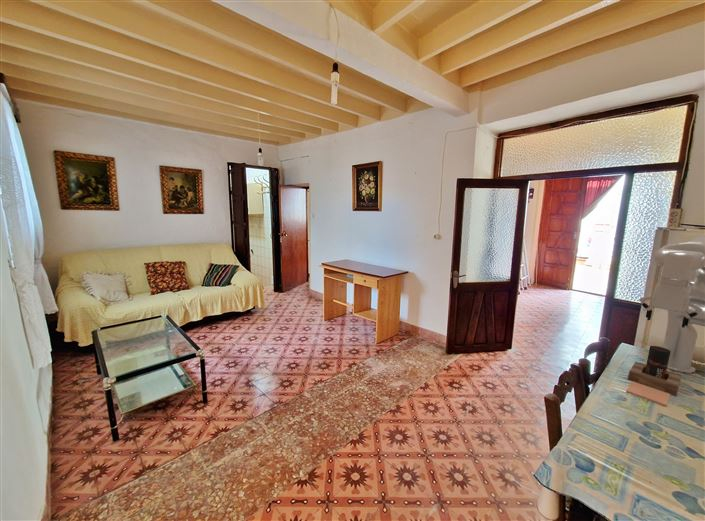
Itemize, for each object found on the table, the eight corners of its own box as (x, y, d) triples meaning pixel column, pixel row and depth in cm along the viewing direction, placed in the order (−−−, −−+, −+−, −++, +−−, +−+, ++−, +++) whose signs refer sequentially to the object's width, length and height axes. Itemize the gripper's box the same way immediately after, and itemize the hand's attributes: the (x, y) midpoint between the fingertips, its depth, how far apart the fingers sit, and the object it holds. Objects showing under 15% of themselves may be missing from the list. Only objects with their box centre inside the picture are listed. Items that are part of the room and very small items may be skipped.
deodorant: (654, 378, 125) (661, 346, 123) (667, 386, 119) (674, 352, 117) (639, 377, 126) (645, 345, 123) (652, 385, 120) (658, 351, 117)
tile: (631, 382, 122) (632, 381, 121) (669, 395, 113) (670, 394, 113) (626, 392, 115) (626, 390, 115) (666, 406, 106) (666, 404, 106)
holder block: (634, 369, 132) (635, 361, 132) (679, 383, 121) (681, 375, 121) (627, 379, 124) (629, 371, 123) (676, 396, 113) (678, 387, 112)
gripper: (708, 285, 111) (698, 327, 114) (645, 277, 124) (637, 315, 127) (707, 288, 106) (697, 332, 109) (642, 279, 120) (634, 318, 123)
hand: (665, 323), depth 118 cm, fingers open, 9 cm apart
